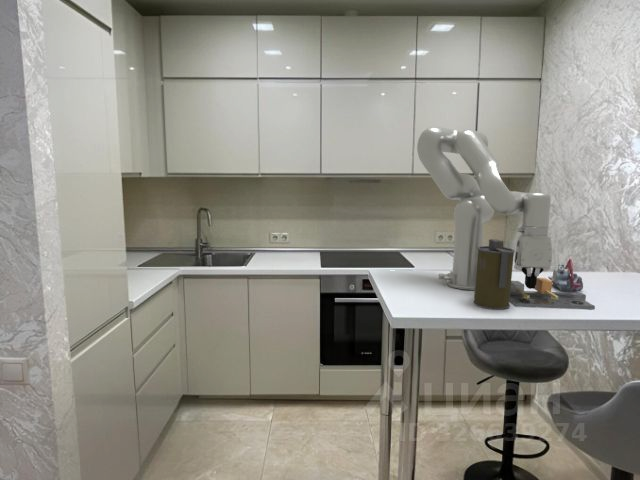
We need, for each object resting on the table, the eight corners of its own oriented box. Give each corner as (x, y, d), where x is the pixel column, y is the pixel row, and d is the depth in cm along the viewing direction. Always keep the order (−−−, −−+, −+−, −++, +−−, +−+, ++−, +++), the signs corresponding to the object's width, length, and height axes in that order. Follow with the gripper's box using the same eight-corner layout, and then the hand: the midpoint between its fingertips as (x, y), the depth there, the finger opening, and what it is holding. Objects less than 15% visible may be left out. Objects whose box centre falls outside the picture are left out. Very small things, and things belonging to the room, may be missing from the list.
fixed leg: (522, 301, 130) (523, 290, 129) (508, 291, 141) (508, 280, 141) (532, 302, 129) (533, 290, 129) (517, 291, 141) (518, 280, 141)
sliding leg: (551, 302, 129) (553, 287, 128) (534, 292, 141) (535, 277, 140) (561, 303, 129) (563, 287, 128) (543, 292, 141) (545, 277, 140)
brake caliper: (595, 288, 143) (574, 258, 144) (564, 304, 147) (543, 276, 147) (583, 280, 154) (564, 253, 155) (555, 295, 158) (536, 269, 158)
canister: (467, 299, 136) (472, 237, 133) (499, 299, 137) (504, 237, 133) (483, 310, 125) (488, 243, 122) (517, 310, 126) (523, 243, 123)
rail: (508, 298, 138) (509, 292, 138) (506, 296, 140) (506, 290, 140) (585, 300, 136) (586, 294, 136) (581, 298, 139) (582, 292, 139)
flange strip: (516, 306, 129) (516, 302, 129) (508, 300, 135) (509, 297, 135) (594, 309, 128) (595, 305, 128) (583, 303, 134) (584, 299, 134)
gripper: (515, 232, 132) (511, 290, 135) (564, 233, 131) (559, 291, 134) (506, 229, 140) (502, 284, 142) (553, 230, 139) (548, 285, 141)
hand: (530, 287), depth 138 cm, fingers closed
